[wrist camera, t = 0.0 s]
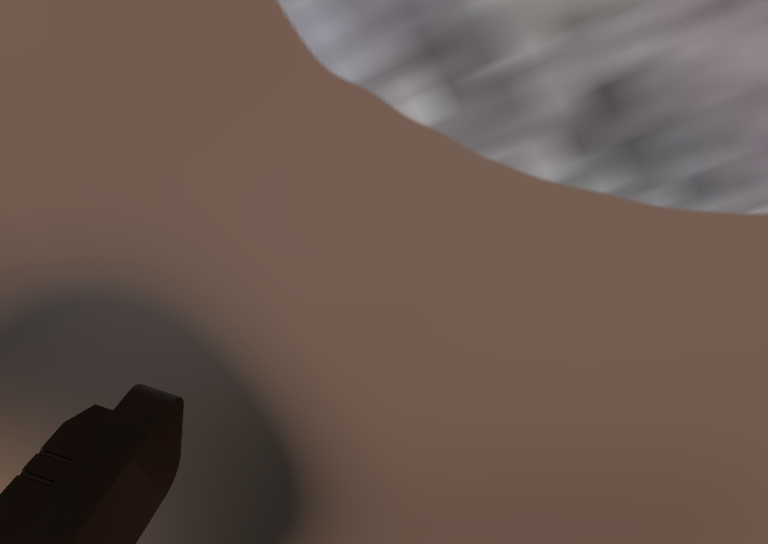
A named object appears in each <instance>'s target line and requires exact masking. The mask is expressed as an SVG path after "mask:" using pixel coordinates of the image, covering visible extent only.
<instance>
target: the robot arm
mask: <svg viewBox="0 0 768 544" xmlns="http://www.w3.org/2000/svg"><path fill="white" fill-rule="evenodd" d="M183 408H184V402H183V399H182V398H181V397H179V396H176V395H173V394H169V393H167V392H164V391H161V390H158V389H155V388H152V387H149V386H146V385H143V384H137V385H135V386H134V387H133V388H132V389H131V390H130V391H129V392H128V393H127V394H126V396H125V397H124V398H123V399H122V401H121V402H120V403H119V404H118V405H117V407H116V408H115V409H114V410H110V409H107V408H104V407H101V406H98V405H93V406H92V407H90V408H88V409H86V410H85V411H83V412H81V413H80V414H78V415H76V416H74V417H73V418H71V419H69V420H67V421H66V422H64V423H63V424H62V425H61V426H60V427H59V429H58V430H57V431H56V432H55V433H54V434H53V435H52V437H51V438H50V439H49V440H48V441H47V442H46V443H45V444H44V446H43V447H42V448H41V451H40V453H39V454H36V455H35V456H34V457H33V458H32V459H31V460H30V461H29V462H28V464H27V465H26V466H25V467H24V468H23V469H22V472H21V474H20V475H19V476H18V475H17V476H16V477H15V478H14V479H13V481H12V482H11V483H10V484H9V485H8V486H7V487H6V489H5V490H4V491H3V492H2V493H1V494H0V544H136V543H137V541H138V539H139V538H140V536H141V535H142V533H143V531H144V530H145V528H146V527H147V525H148V524H149V522H150V520H151V519H152V517H153V516H154V514H155V512H156V511H157V509H158V508H159V506H160V504H161V502H162V501H163V499H164V498H165V496H166V495H167V493H168V491H169V489H170V487H171V485H172V483H173V481H174V478H175V476H176V473H177V470H178V466H179V462H180V456H181V439H182V425H183Z"/></svg>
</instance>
